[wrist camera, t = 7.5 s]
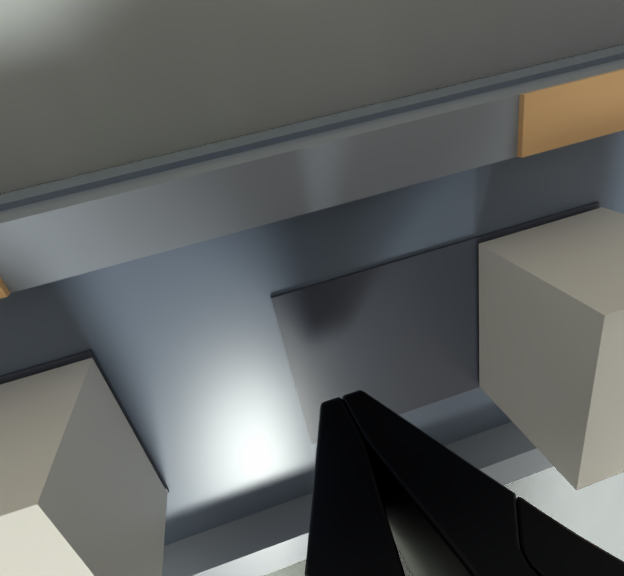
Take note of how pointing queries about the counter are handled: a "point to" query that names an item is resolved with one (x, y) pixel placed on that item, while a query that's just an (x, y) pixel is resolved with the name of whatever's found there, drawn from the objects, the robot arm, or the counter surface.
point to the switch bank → (303, 287)
